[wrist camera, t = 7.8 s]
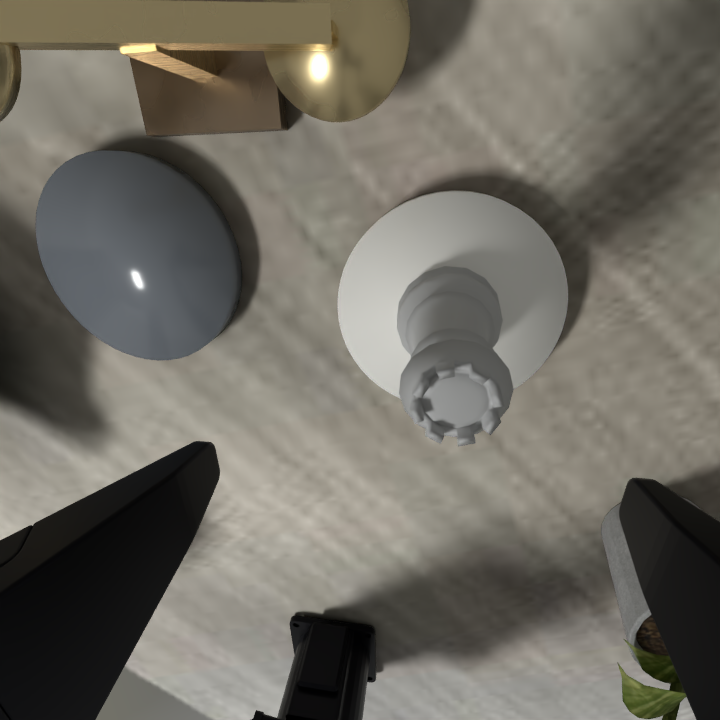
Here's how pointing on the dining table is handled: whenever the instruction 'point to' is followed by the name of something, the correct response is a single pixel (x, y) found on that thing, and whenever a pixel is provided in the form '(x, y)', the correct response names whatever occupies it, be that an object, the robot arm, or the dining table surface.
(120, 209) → the blue-grey flattened dome
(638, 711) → the house plant
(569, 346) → the dining table surface
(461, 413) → the rook chess piece
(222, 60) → the brass balance
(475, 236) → the light grey round disc
